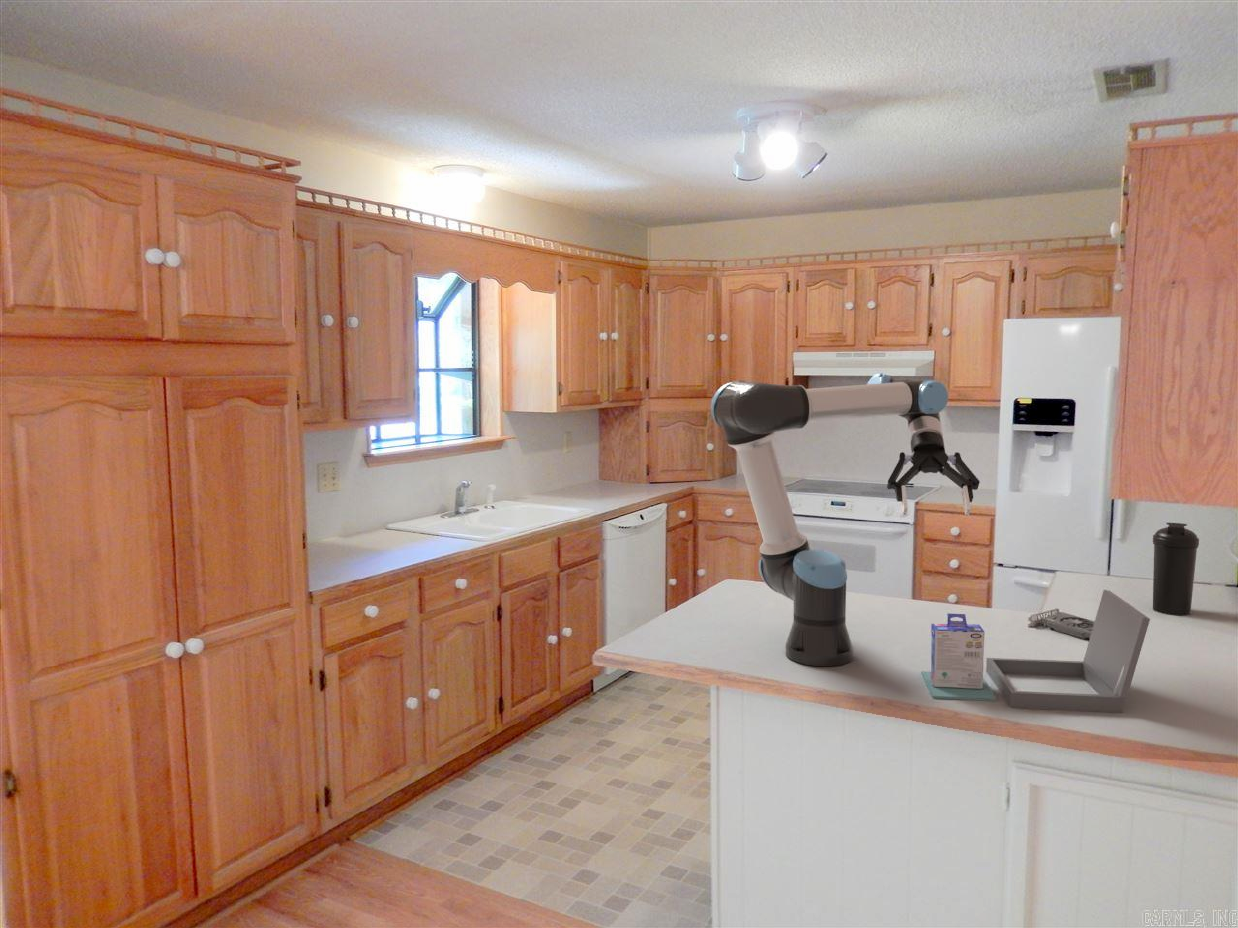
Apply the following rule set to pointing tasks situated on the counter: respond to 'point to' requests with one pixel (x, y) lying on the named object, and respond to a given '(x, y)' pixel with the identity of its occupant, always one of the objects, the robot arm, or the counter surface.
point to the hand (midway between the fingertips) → (936, 512)
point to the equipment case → (1085, 664)
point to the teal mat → (958, 691)
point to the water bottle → (1174, 569)
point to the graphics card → (1063, 623)
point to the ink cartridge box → (957, 654)
